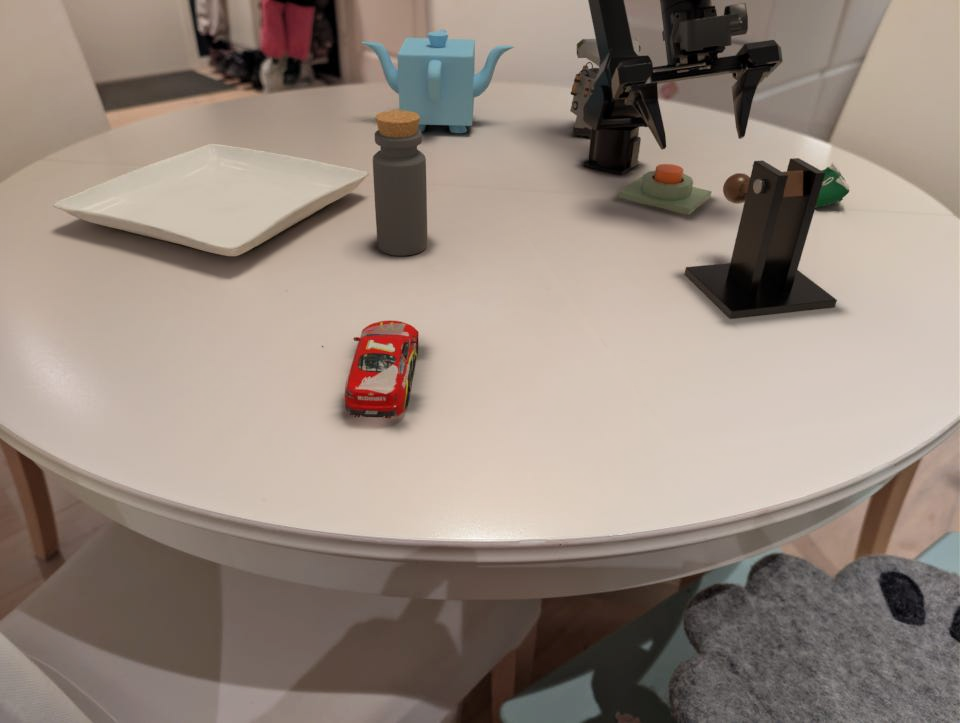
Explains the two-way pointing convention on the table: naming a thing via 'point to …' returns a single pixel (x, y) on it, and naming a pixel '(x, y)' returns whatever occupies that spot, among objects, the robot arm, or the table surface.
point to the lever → (739, 183)
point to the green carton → (832, 187)
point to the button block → (666, 194)
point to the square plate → (215, 197)
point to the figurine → (587, 82)
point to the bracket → (768, 249)
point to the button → (668, 174)
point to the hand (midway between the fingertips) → (702, 143)
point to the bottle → (400, 184)
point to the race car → (382, 370)
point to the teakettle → (438, 78)
